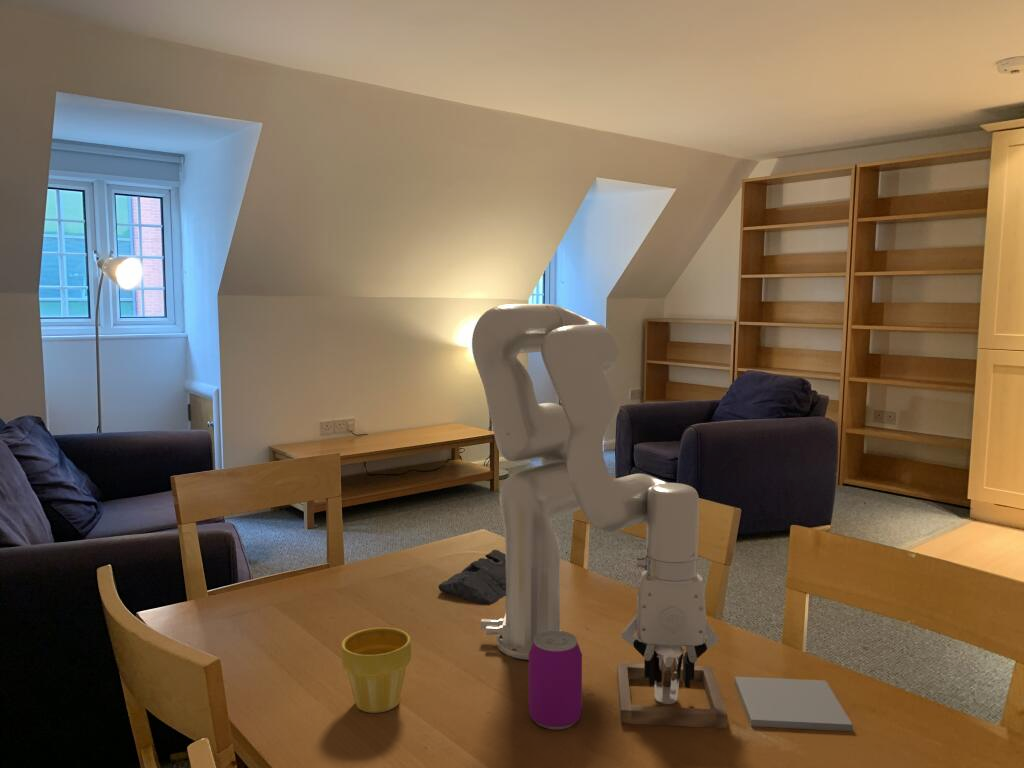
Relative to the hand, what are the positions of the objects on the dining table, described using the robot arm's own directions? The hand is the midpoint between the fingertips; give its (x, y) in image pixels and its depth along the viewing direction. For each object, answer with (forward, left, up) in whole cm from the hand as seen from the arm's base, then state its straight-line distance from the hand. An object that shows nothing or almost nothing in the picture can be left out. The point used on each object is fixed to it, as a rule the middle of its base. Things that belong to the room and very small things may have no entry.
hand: (668, 681), depth 120 cm
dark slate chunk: (-34, +46, -4) cm, 58 cm away
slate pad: (+18, 0, -3) cm, 18 cm away
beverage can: (-17, -7, -3) cm, 19 cm away
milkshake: (0, 0, -3) cm, 3 cm away
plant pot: (-44, -5, -3) cm, 44 cm away
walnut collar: (0, 0, -3) cm, 3 cm away
